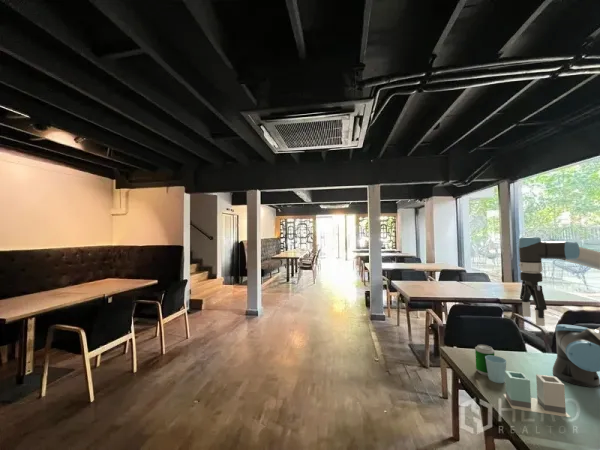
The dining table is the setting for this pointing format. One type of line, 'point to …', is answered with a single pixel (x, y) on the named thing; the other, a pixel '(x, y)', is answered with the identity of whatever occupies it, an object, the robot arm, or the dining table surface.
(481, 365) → the soda can
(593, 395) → the dining table surface
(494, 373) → the cup
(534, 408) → the pin board
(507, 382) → the teal sleeve
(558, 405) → the grey sleeve
